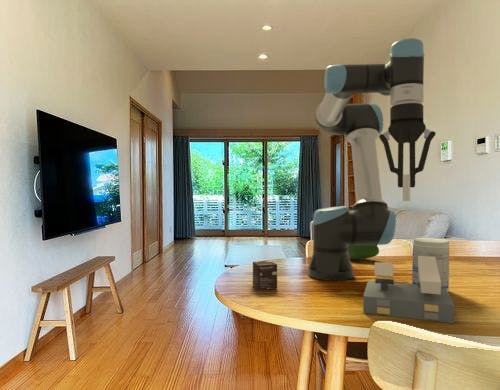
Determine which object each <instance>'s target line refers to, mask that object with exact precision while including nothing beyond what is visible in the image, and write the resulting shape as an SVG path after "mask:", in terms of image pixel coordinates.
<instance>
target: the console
mask: <svg viewBox="0 0 500 390" xmlns="http://www.w3.org/2000/svg"><path fill="white" fill-rule="evenodd" d="M362 306H363V308H362V309H363V311H362V313H363V314H370V315H378V316H380V315H381V316H387V317H396V318H404V319H405V318H406V319H414V320H423V321H432V322H439V323H448V324H455V304H454V302H453V300H452V298H451V296H450V293H449V291H448V292H447V290H446V288H445V287H441V295H439V294H428V293H421V289H420V282H418V285H415V284H412V283H400V282H395V280H394V279H387V278H379V277H378V278H377V277H376V278H375V279H374V280H367V283H366V285H365V290H364V292H363V299H362Z"/></svg>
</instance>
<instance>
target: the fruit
mask: <svg viewBox="0 0 500 390" xmlns="http://www.w3.org/2000/svg"><path fill="white" fill-rule="evenodd" d="M379 253H380V249H379V245H377V246H375V245H348V255H349V258H350V259H352V260H357V261H359V260H366V259H371V258H374V257H377V256H378V255H379Z"/></svg>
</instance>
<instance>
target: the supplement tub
mask: <svg viewBox="0 0 500 390" xmlns="http://www.w3.org/2000/svg"><path fill="white" fill-rule="evenodd" d="M418 256H429V257H435V259H436V263H437V267H438V271H439V276H440V280H441V287H445V288H446V290H447V292H448V293H449V290H450V289H449V287H450V286H449V285H450V283H449V282H450V281H449V280H450V240H447V239H443V238H435V237H434V238H433V237H416V238H414V239H413V243H412V265H411V266H412V271H411V272H412V274H411V275H412V277H411V284H415V285H418V282H420V281H419V273H418Z"/></svg>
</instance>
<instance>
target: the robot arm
mask: <svg viewBox="0 0 500 390" xmlns="http://www.w3.org/2000/svg"><path fill="white" fill-rule="evenodd" d="M389 57H390V60H389V61H388V63H363V64H355V63H354V64H342V63H339V64H333V65H328V66H327V67H326V68H325V71H324V80H323V86H324V91H325V94H324V97H323V99H322V102H320V103H319V104H318V105H317V107H316V109H315V112H314V120H315V122H316V125H317V126H318V127H319V128H320V129H321V130H322V131H323V132H325V133H327V134H331V135H333V136H334V135H335V136H345V137H346V141H347V142H348V143H349V144H350V145H351V155H352V169H353V178H354V179H353V180H354V181H353V182H354V192H355V200H356V201H355V203H354V204H353V205H352V210H351V209H350V208H349V207H348V206H347V205H341V206H331V207H324V208H319V209H316V210H315V211H314V212H313V218H312V219H313V220H312V226H313V229H312V230H313V233H312V235H313V236H312V241H313V242H312V243H313V244H312V245H313V246H312V255H311V258H310V261H309V264H308V267H307V275H308V277H310V278H313V279H317V280H323V281H324V280H326V281H346V280H351V279H352V278H354V276H355V275H354V274H355V273H354V268H353V264H352V261H351V258H350V257H349V255H348V245H375V246H381V245H382V246H383V245H386V246H387V245H389V244H390V243H391V242H392V241H393V238H394V236H395V232H396V227H397V218H396V214H395V211H393V210H392V209H389V208H388V207H389V206H388V203H387V202H386V201H384V200H383V198H382V187H381V178H380V177H381V176H380V170H379V160H378V153H377V144H376V140H377V139H379V140H380V142H381V143H382V144H383V146H384V151H385V155H386V159H387V163H388V168H389V171H390V172H391V173H394V174H396V175H397V188H402V201H403V202H411V188H415V187H416V174H418V173H421V172H423V171H424V169H425V164H426V161H427V157H428V154H429V151H430V145H431V141H432V140H433V139H434V137H435V136H436V134H437V133H436V132H435V131H433V130H432V131H431V130H430V129H428V128H427V127H426V124H425V122H424V105H423V102H424V75H425V74H424V72H425V71H424V69H425V67H424V66H425V65H424V64H425V61H424V60H425V52H424V42H423V41H422V40H421V39H419V38H410V37H409V38H403V39H400V40H397V41H395V42H394V43H392V45H391V46H390V52H389ZM363 93H364V94H368V93H369V94H372V93H376V94H377V93H378V94H380V95H381V96H384V97H385V96H386V97H388V96H389V97H390V101H389V103H390V106H391V107H390V109H389V111H390V112H389V115H390V119H389V120H390V121H389V126H388V128H387V130H386V131H385V132H384V133H382V132H383V128H384V116H383V112H382V109H381V107H380V106H379V105H378V104H376V103H368V102H365V103H364V102H363V103H349V102H350V99H352V96H353V95H354V94H363ZM423 133H424V135H423ZM422 135H423V138H424V139H425V140H424V143H423V146H422V150H421V153H420V159H419V162H418V166H417V167H416V142H417V141H418V140H419V139H420V137H421V136H422ZM390 136H391V137H392V138H393V140H394V141H395V142H396V143H397V167H395V163H394V159H393V155H392V151H391V145H390V143H389V141H390ZM406 143H407V144H408V145H409V150H408V152H409V155H408V156H409V174H404V145H405V144H406Z"/></svg>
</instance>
